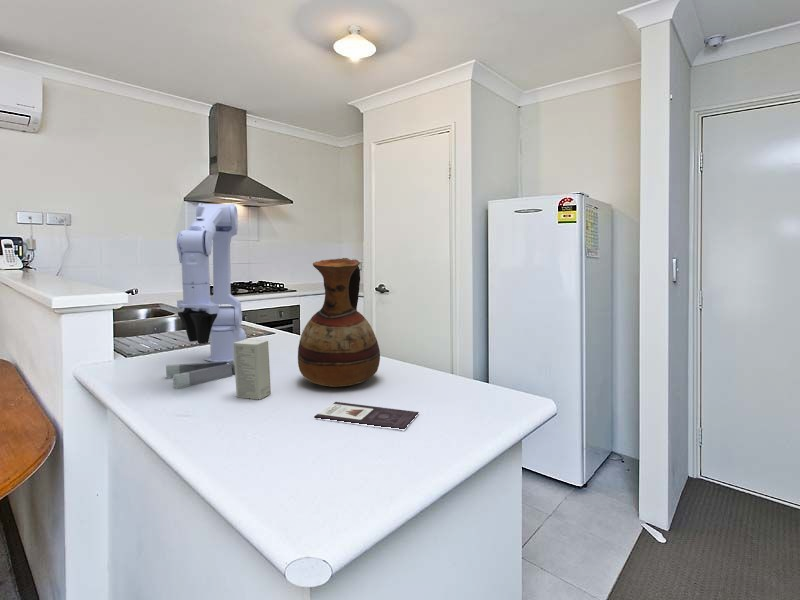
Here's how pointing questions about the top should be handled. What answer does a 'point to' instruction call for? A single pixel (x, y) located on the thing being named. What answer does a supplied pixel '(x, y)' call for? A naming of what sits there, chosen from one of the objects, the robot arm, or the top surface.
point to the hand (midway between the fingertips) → (198, 342)
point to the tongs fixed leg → (194, 367)
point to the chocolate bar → (367, 415)
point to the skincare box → (252, 368)
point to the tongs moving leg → (202, 375)
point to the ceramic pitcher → (338, 331)
